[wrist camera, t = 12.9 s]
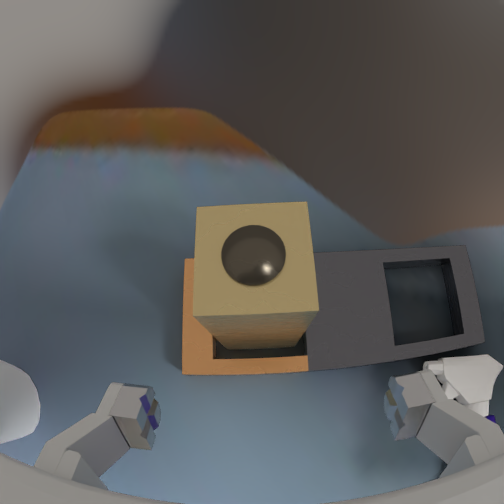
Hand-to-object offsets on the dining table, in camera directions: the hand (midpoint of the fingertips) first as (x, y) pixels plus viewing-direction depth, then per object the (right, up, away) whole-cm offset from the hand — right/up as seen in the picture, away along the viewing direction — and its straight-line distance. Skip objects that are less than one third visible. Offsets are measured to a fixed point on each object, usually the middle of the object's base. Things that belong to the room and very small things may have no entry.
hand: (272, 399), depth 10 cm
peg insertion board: (+6, +1, +12) cm, 13 cm away
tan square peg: (0, 0, +12) cm, 12 cm away
